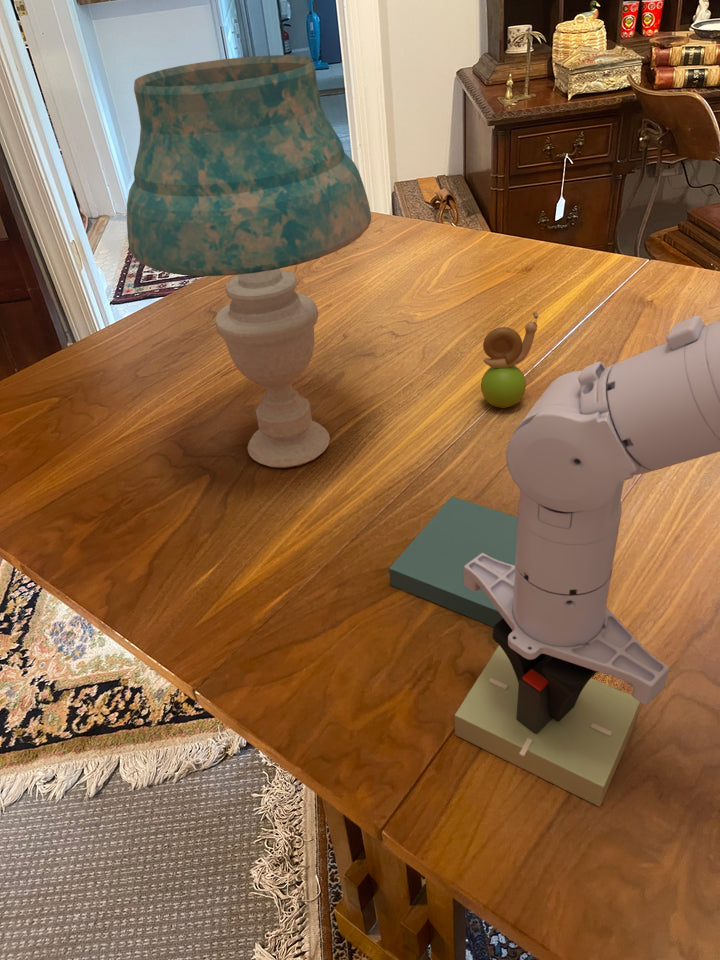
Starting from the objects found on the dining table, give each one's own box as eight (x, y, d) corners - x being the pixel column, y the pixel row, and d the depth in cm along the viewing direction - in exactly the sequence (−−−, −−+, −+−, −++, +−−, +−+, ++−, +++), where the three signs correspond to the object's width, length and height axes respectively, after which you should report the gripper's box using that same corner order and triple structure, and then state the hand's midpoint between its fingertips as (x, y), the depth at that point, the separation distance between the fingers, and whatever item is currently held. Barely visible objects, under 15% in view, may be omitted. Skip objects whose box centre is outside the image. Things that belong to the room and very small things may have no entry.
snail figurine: (536, 414, 89) (542, 322, 82) (483, 417, 90) (484, 326, 82) (529, 391, 94) (534, 303, 86) (478, 394, 94) (479, 306, 87)
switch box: (621, 569, 67) (627, 536, 65) (566, 672, 58) (570, 638, 56) (451, 512, 76) (451, 481, 73) (381, 595, 67) (378, 563, 65)
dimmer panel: (639, 713, 55) (644, 691, 53) (596, 815, 49) (601, 793, 47) (503, 656, 60) (504, 634, 59) (450, 741, 54) (450, 719, 53)
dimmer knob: (558, 679, 55) (563, 636, 52) (579, 693, 54) (585, 650, 51) (515, 719, 52) (518, 677, 50) (536, 735, 51) (540, 692, 49)
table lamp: (227, 537, 76) (117, 110, 52) (167, 432, 93) (65, 78, 69) (425, 462, 83) (409, 59, 59) (336, 378, 101) (295, 42, 77)
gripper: (431, 539, 47) (436, 674, 55) (632, 666, 38) (603, 806, 46) (503, 490, 51) (497, 624, 59) (702, 595, 42) (664, 737, 50)
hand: (548, 700), depth 53 cm, fingers closed on dimmer knob, 2 cm apart
